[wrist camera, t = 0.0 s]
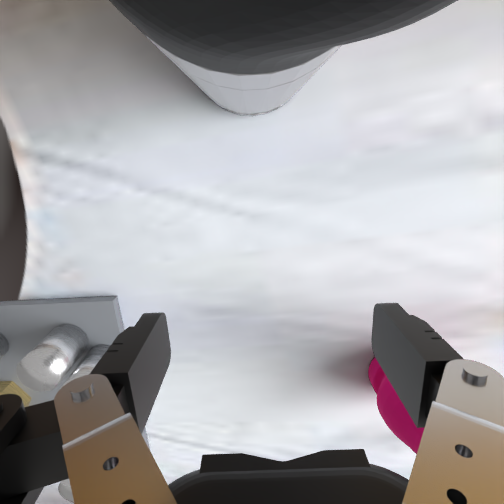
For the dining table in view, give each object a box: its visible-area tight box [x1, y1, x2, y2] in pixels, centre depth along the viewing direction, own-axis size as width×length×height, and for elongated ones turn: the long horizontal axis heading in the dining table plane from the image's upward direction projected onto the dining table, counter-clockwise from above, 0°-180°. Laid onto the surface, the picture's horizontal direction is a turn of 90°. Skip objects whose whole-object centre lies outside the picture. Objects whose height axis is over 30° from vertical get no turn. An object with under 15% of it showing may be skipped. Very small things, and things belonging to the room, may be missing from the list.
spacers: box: [0, 324, 110, 502], centre depth 32 cm, size 18×21×5 cm
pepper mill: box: [368, 357, 424, 454], centre depth 24 cm, size 7×7×20 cm
